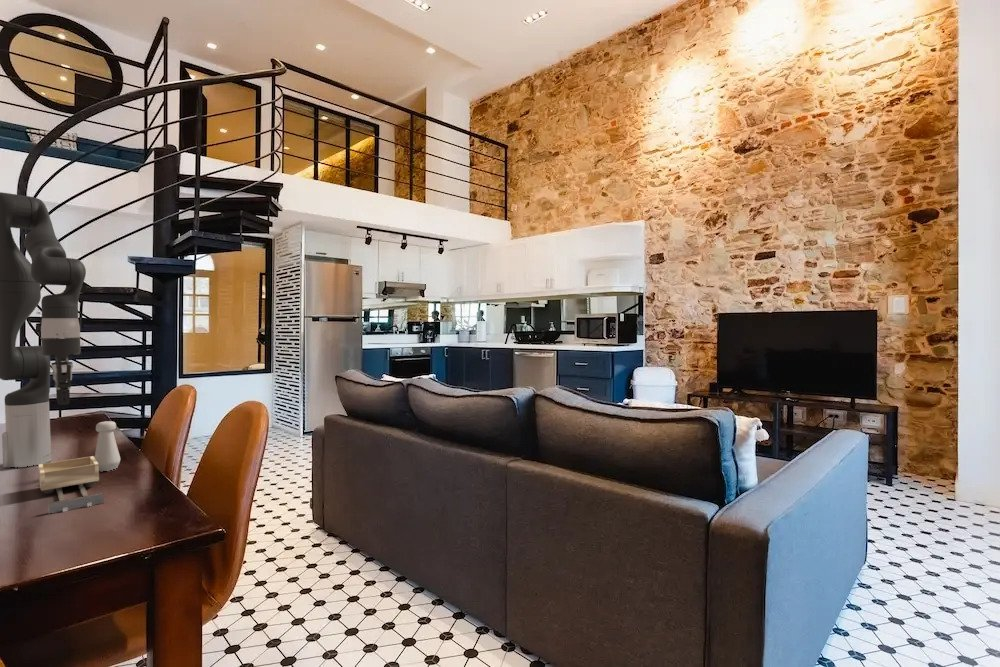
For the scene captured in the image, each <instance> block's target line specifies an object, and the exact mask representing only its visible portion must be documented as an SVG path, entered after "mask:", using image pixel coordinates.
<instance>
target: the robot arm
mask: <svg viewBox="0 0 1000 667" xmlns="http://www.w3.org/2000/svg"><path fill="white" fill-rule="evenodd" d="M11 228H12V229H13V228H14V229H21V230H29V232H27V234H26V235H25V236H24V240H23V244H24V245H23V246H24V248H25V250H26V252H27V253H28V256H29V257H30V259H31V262H30V261H29V260H28V259H27V257H26V255H24V254H23V252H22V251H21V250H20V248H19V247H18V245H17V243H16V242H15V239H14V236H13V234H12V229H11ZM86 272H87V270H86V266H85V265H84V263H83V261H81V260H79V259H78V258H73V257H71V258H70V257H67V252H66V251H65V249H64V247H63V246H62V244H61V243H60V241H59V240H58V238H57V236H56V233H55V230H54V227H53V223H52V220H51V217H50V213H49V210H48V208H47V206H46V204H45V203H44V201H42V200H41V199H40V198H38V197H34V196H29V195H23V194H22V195H21V194H14V193H11V192H1V191H0V380H2V381H16V380H17V381H18V380H29V382H28V383H27V384H25V385H24V386H23V387H21V388H19V389H17V390H15V391H11V392H8V393H6V395H4V416H5V419H4V420H5V431H4V432H2V433H1V444H2V446H1V447H2V450H1V451H2V468H10V467H15V468H16V469H17V467H18V468H26V467H27V466H28V467H34V466H37V465H38V466H39V464H44V463H50V462H51V461H52V446H51V445H52V442H51V441H52V440H51V417H50V416H51V415H50V413H51V412H50V393H51V392H50V390H51V370H52V379H53V381H54V382H53V383H54V387H55V391H56V395H55V396H56V402H57V404H58V405H60V406H64V405H65V406H66V405H69V404H70V403H71V398H70V394H71V393H70V390H71V387H72V383H71V382H72V380H73V367H74V365H73V362H72V361H70V360H69V356H75V355H77V356H78V355H80V354H81V352H82V351H81V350H82V349H81V348H82V347H81V326H80V322H79V321H80V320H79V298H80V294H81V290H82V287H83V286H84V282H85V278H86V274H87V273H86ZM41 285H47V286H65V289H64V290H63V291H62V292H60V293H54V294H47V295H44V296H42V294H41V291H42V290H41ZM41 296H42V297H41ZM39 303H40V304H41V306H40V307H41V325H40V339H41V340H40V342H41V343H40V344H41V345H27V346H26V345H25V346H24V345H23V346H16V343H17V338H18V334H19V331H20V329H21V328H22V326H23V324H24V323H25V322H26V320H27V319H28V318H29V317H30V316H31V315H32V313H33V312H34V311H35V310H36V308H37V307H38V305H39ZM51 356H52V357H54V362H51ZM33 465H34V466H33ZM15 468H14V469H15Z"/></svg>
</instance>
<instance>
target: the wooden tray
mask: <svg viewBox="0 0 1000 667" xmlns="http://www.w3.org/2000/svg"><path fill="white" fill-rule="evenodd" d="M94 457H95V455H91V456H86V457H85V456H84V457H79V458H71V459H63V460H59V461H52V462H51V461H49V462H47V463H43V464H39V465H38V481H39V486H40V487H39V488H40V491H41V492H43V493H44V494H47V495H48V494H52V493H53V492H55V491H56V488H60V487H61V488H65V487H69V486H76V485H77V484H82V483H83V484H85V486H88V487H93V486H95V484H97V482H98V481H100V472H99V464H98V462H97V461H96V459H95V458H94Z"/></svg>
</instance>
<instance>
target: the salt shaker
mask: <svg viewBox="0 0 1000 667" xmlns="http://www.w3.org/2000/svg"><path fill="white" fill-rule="evenodd" d="M116 427H117V423H116V422H115V421H114V420H113V421H112V420H111V421H110V420H108V421H107V420H105V421H101V422H98V423H97V424H95V431H96V432H98V436H97V440H96V448H95V453H94V458H95V459H96V461H97V462H98V464H99V471H100V472H99V473H104V472H103V471H107V472H111V471H110V470H112V471H114V470H113V469H115V470H117V469H118V467H119V465H120V462H121V456H120V455H121V454H120V452H119V448H118V445H117V441H116V437H115V434H114V431H115V430H116ZM116 468H117V469H116Z"/></svg>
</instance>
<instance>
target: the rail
mask: <svg viewBox="0 0 1000 667" xmlns="http://www.w3.org/2000/svg"><path fill="white" fill-rule="evenodd" d="M76 485H77V487H78V489H80V490H79V492H80V494H81V496H79V497H74V498H68V499H65V495H64V493H63V488H62V487H60V488H55V491H56V494H57V497H58V501H57V500H56V501H54V502H53V501H52V502H48V514H49V515H51V514H50V513H52V514H56V513H61V511H62V513H66V512H68V511H70V510H75V509H80V508H81V507H82V508H85V507H87V508H90V507H92V506H95V505H101V504H104V493H103V492H99V493H94V494H88V491H87V490H86V487H85V486H84V483H82V484H76ZM82 496H83V497H82ZM89 506H90V507H89Z"/></svg>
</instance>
